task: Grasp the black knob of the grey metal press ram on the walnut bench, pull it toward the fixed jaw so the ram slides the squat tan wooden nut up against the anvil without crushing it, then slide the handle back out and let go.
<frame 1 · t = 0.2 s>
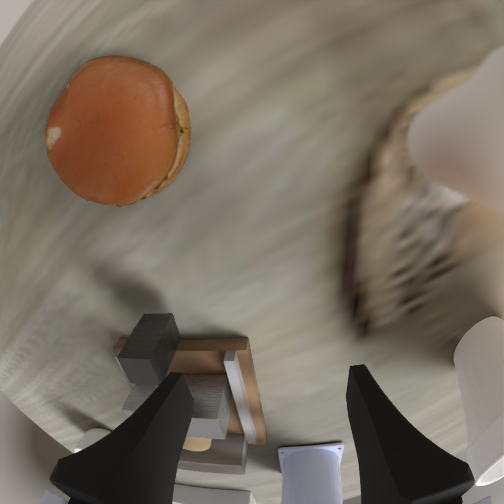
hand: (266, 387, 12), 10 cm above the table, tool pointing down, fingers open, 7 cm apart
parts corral: (210, 496, 41), on the table
cup: (479, 342, 23), on the table
burger: (128, 130, 18), on the table
ram: (166, 381, 20), point 4 cm above the table, slide at 0.0 cm
teacup: (117, 439, 34), on the table
nut: (197, 408, 26), point 1 cm above the table, touching bench
bench: (199, 395, 27), on the table
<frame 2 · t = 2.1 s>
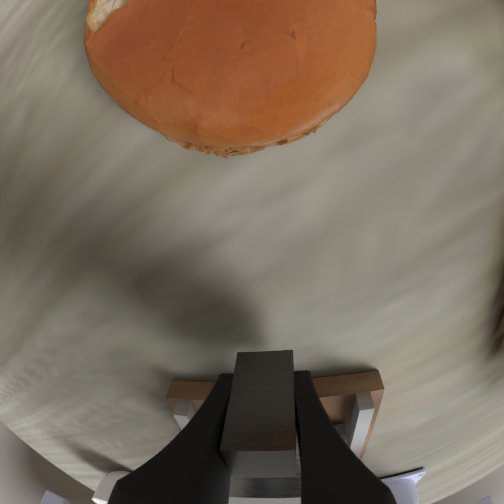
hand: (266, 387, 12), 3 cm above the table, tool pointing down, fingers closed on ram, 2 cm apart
burger: (235, 36, 9), on the table
ram: (271, 451, 12), point 4 cm above the table, slide at 0.0 cm, touching gripper
teacup: (143, 481, 26), on the table
bench: (280, 443, 18), on the table
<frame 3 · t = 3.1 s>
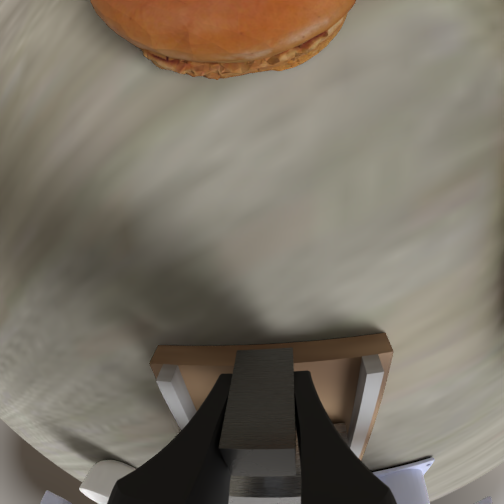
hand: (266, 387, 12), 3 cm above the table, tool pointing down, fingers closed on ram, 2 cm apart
ram: (271, 450, 12), point 4 cm above the table, slide at 2.6 cm, touching gripper, nut
teacup: (134, 472, 25), on the table
bench: (278, 424, 17), on the table
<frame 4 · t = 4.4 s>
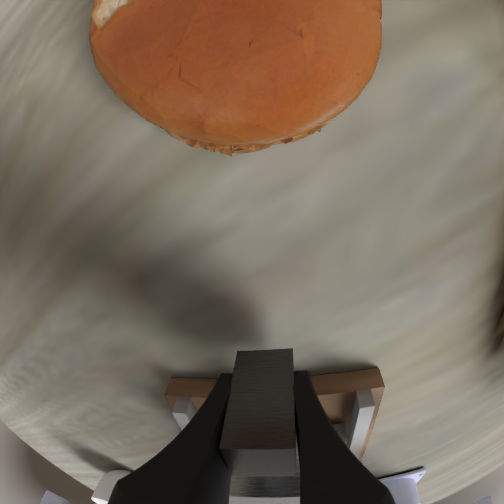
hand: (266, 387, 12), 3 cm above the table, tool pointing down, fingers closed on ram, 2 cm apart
burger: (240, 35, 9), on the table
ram: (271, 450, 12), point 4 cm above the table, slide at 0.1 cm, touching gripper
teacup: (143, 480, 26), on the table
bench: (280, 442, 18), on the table
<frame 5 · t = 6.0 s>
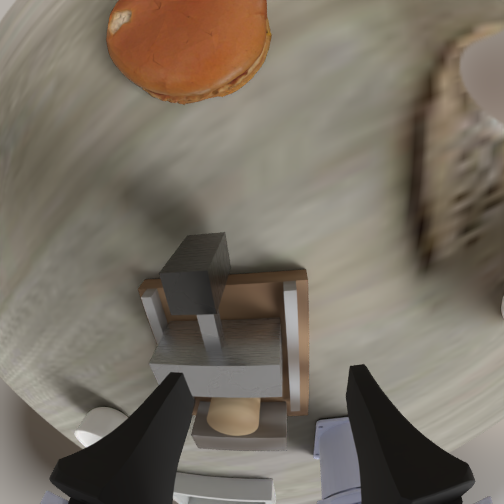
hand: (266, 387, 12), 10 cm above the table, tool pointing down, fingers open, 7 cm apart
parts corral: (225, 487, 38), on the table
burger: (196, 36, 15), on the table
ram: (211, 321, 18), point 4 cm above the table, slide at 0.1 cm
teacup: (124, 420, 32), on the table
nut: (238, 386, 24), point 1 cm above the table, touching bench
bench: (235, 353, 24), on the table
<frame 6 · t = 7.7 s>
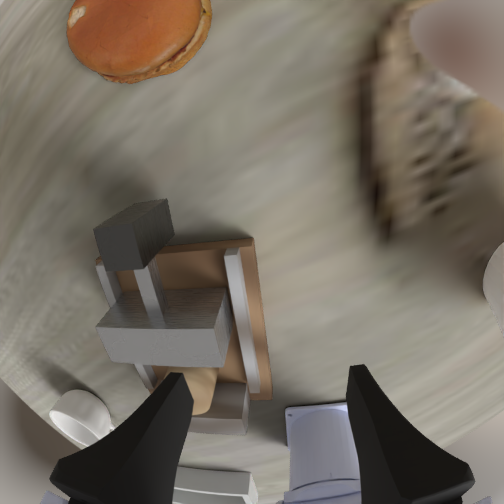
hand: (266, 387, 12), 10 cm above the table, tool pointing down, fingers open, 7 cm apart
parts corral: (205, 480, 38), on the table
burger: (148, 24, 15), on the table
ram: (152, 286, 17), point 4 cm above the table, slide at 0.1 cm
teacup: (99, 404, 31), on the table
nut: (195, 364, 24), point 1 cm above the table, touching bench
bench: (192, 329, 24), on the table
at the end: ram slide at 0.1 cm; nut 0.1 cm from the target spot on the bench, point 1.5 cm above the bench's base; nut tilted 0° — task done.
